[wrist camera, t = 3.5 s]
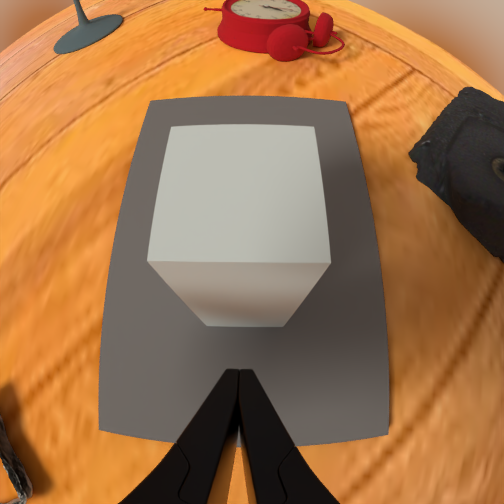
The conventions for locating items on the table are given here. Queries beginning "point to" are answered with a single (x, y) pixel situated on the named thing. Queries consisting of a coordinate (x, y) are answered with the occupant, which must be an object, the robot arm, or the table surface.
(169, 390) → the rubber mat
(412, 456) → the table surface
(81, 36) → the cocktail glass
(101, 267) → the table surface
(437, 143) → the dark slate chunk
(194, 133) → the painted block
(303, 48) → the alarm clock
